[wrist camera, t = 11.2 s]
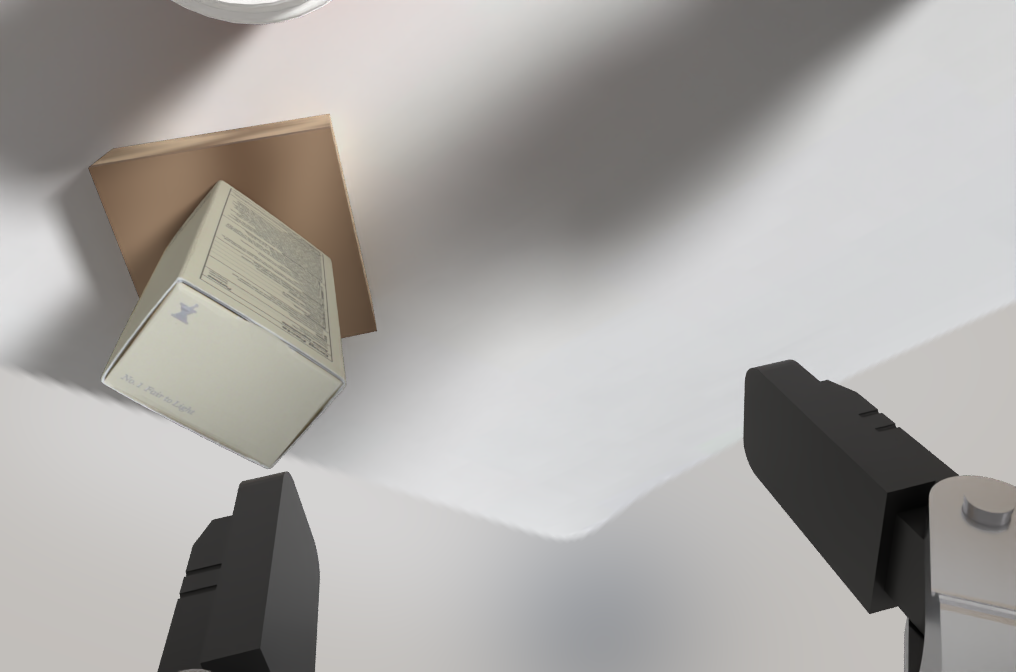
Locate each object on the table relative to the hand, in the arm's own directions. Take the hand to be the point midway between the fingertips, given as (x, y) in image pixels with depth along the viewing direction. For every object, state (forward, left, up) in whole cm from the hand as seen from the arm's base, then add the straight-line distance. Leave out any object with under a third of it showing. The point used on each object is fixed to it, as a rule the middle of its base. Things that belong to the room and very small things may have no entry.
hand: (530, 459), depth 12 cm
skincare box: (+7, +3, -23) cm, 25 cm away
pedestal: (+8, +3, -27) cm, 28 cm away
